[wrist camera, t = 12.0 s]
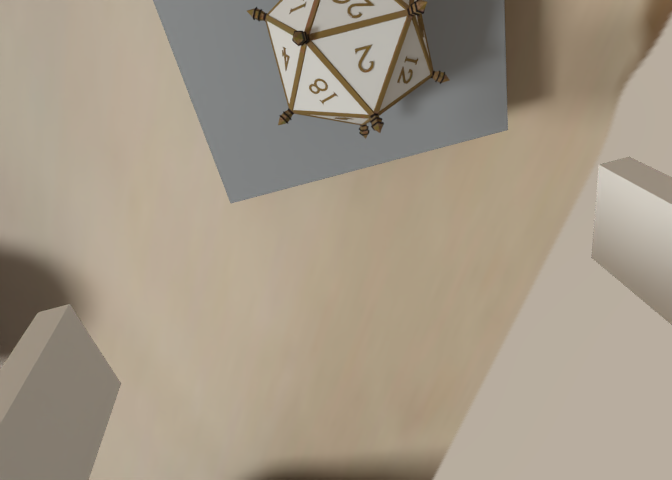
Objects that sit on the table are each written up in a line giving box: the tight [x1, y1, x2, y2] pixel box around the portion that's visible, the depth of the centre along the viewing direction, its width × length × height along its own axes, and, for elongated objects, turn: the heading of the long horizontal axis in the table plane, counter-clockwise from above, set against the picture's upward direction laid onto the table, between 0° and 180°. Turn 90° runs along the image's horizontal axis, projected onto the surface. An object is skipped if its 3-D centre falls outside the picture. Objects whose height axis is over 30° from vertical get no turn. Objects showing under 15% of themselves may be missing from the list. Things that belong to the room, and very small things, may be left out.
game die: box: [247, 0, 450, 139], centre depth 22 cm, size 9×8×10 cm
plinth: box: [153, 0, 508, 203], centre depth 27 cm, size 16×18×5 cm
